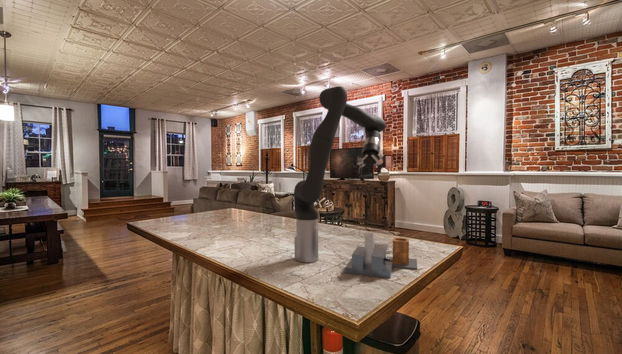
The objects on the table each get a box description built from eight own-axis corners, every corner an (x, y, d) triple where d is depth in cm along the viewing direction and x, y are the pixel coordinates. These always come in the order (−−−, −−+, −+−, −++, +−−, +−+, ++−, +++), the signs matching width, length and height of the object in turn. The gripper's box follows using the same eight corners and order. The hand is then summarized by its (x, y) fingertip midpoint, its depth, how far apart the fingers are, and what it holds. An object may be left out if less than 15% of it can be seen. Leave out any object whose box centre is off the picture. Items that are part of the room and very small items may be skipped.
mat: (384, 266, 113) (384, 265, 113) (386, 257, 124) (386, 256, 124) (417, 269, 109) (417, 268, 109) (416, 260, 120) (416, 258, 120)
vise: (345, 273, 106) (344, 234, 105) (351, 263, 117) (351, 228, 117) (390, 278, 100) (390, 237, 100) (392, 267, 112) (392, 231, 111)
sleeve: (392, 263, 114) (392, 240, 114) (393, 259, 120) (393, 237, 120) (408, 264, 113) (408, 241, 112) (408, 260, 118) (408, 238, 118)
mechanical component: (369, 254, 131) (392, 255, 129) (369, 244, 130) (392, 245, 128) (369, 248, 140) (391, 249, 138) (369, 239, 140) (391, 239, 138)
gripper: (355, 142, 135) (350, 166, 124) (386, 141, 130) (384, 166, 120) (357, 154, 140) (352, 178, 130) (387, 154, 136) (385, 179, 125)
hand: (368, 172), depth 125 cm, fingers open, 8 cm apart
